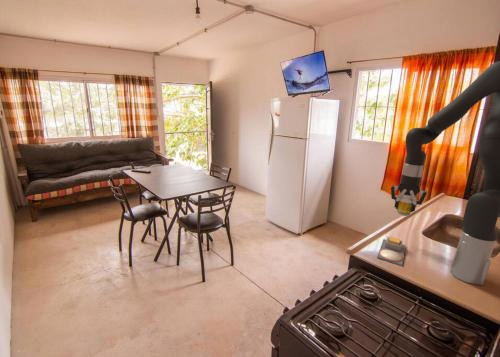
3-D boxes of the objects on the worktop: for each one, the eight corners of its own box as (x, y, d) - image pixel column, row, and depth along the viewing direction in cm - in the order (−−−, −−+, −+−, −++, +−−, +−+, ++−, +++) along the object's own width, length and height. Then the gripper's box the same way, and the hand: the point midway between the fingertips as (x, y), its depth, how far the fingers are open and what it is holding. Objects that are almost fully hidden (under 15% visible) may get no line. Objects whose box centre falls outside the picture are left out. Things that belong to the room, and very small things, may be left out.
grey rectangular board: (405, 246, 115) (406, 240, 115) (401, 265, 101) (403, 259, 100) (383, 240, 120) (384, 234, 119) (376, 257, 106) (378, 251, 105)
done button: (399, 243, 114) (400, 239, 114) (398, 246, 111) (399, 242, 110) (389, 240, 116) (390, 236, 116) (388, 243, 113) (389, 239, 112)
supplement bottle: (400, 210, 121) (404, 191, 119) (412, 215, 117) (416, 195, 114) (394, 213, 118) (398, 193, 116) (406, 217, 114) (410, 197, 111)
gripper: (392, 173, 113) (385, 208, 118) (431, 179, 106) (422, 217, 110) (394, 170, 119) (387, 204, 124) (431, 175, 112) (423, 211, 116)
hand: (404, 210), depth 117 cm, fingers closed on supplement bottle, 5 cm apart
